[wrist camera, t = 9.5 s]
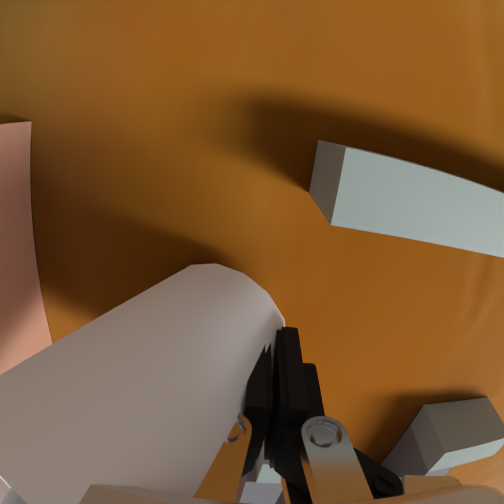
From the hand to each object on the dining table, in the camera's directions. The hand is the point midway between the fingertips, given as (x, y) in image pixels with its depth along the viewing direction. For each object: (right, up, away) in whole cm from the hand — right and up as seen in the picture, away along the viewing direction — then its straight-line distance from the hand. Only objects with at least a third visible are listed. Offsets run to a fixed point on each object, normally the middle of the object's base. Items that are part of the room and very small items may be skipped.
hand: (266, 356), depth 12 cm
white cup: (-2, +1, +2) cm, 2 cm away
